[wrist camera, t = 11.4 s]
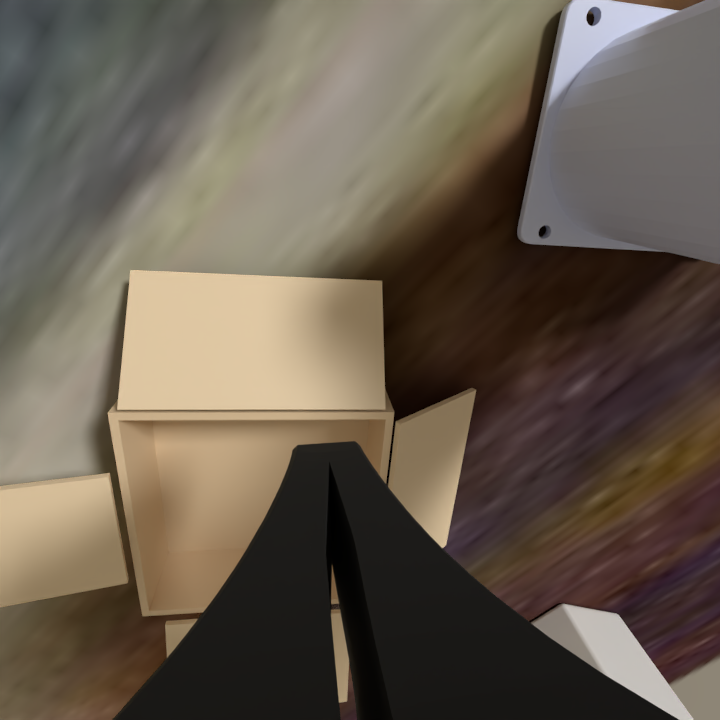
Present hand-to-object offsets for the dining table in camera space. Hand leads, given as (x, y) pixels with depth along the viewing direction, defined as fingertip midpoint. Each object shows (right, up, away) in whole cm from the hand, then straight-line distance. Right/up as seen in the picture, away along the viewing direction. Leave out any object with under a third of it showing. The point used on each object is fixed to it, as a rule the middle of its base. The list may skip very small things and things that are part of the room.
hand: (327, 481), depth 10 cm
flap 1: (-8, -4, +7) cm, 12 cm away
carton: (-4, -2, +11) cm, 12 cm away
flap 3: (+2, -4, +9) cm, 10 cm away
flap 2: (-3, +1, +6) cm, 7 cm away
